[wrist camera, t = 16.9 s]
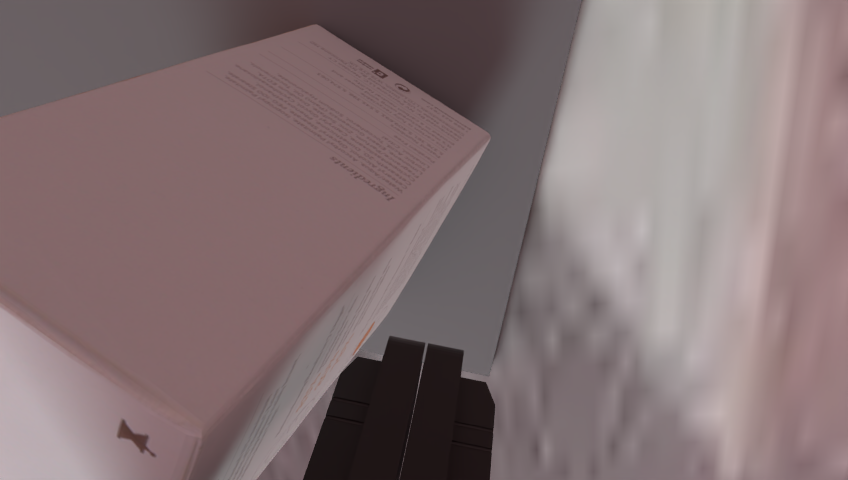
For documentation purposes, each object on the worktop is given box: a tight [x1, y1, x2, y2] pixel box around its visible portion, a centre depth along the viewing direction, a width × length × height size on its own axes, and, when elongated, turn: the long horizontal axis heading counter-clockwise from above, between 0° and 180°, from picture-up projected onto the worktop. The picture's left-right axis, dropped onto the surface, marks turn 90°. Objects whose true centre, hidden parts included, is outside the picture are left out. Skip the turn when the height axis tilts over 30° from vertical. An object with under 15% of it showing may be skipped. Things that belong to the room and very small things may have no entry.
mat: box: [0, 0, 582, 376], centre depth 22 cm, size 22×16×1 cm
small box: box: [0, 24, 491, 480], centre depth 15 cm, size 8×6×13 cm
